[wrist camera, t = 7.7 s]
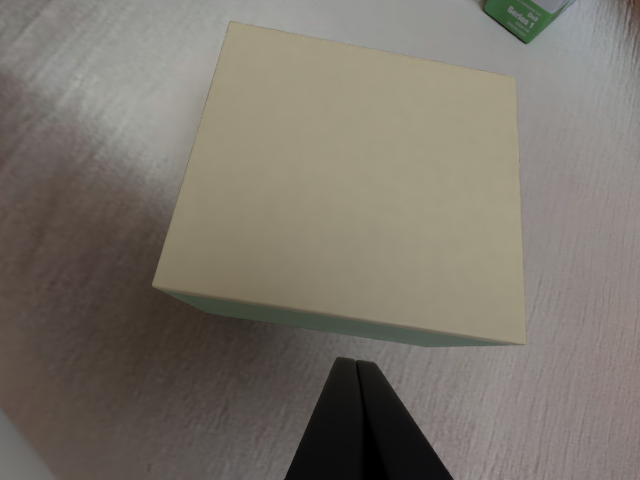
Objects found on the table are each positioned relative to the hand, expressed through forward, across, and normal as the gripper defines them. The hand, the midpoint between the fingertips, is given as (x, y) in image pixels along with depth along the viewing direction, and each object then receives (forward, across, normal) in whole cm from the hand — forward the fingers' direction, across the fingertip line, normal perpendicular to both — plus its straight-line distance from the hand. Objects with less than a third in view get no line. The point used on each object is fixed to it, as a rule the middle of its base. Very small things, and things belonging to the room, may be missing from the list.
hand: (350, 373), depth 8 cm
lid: (+8, 0, -2) cm, 9 cm away
